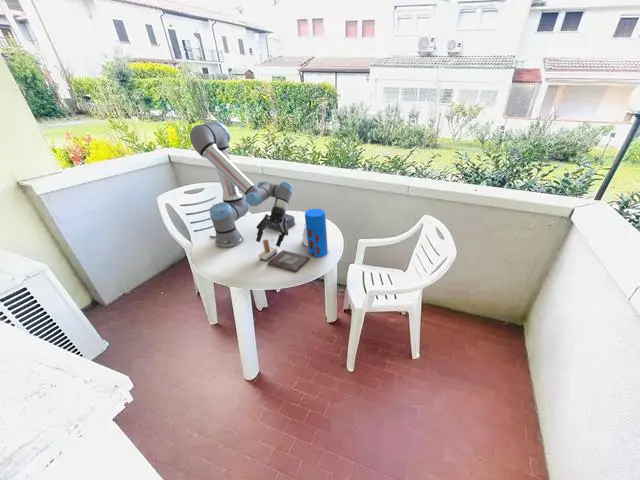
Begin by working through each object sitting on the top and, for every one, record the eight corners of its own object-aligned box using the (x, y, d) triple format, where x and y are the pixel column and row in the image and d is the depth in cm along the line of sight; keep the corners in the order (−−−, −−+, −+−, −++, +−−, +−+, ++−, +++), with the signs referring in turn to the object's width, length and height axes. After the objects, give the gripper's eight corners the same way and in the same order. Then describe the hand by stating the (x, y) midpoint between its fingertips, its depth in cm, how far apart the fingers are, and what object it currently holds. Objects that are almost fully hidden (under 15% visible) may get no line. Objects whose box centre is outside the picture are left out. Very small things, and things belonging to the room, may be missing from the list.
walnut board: (268, 264, 153) (267, 262, 153) (283, 252, 164) (282, 249, 163) (295, 272, 147) (295, 269, 147) (309, 259, 158) (309, 256, 157)
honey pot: (326, 245, 171) (324, 217, 161) (305, 248, 168) (301, 220, 157) (321, 235, 181) (319, 209, 171) (301, 238, 178) (298, 211, 167)
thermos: (318, 245, 170) (315, 206, 156) (331, 251, 164) (329, 211, 150) (305, 253, 163) (300, 213, 149) (318, 259, 157) (314, 218, 143)
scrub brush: (266, 261, 156) (263, 245, 150) (259, 259, 157) (255, 244, 152) (277, 253, 163) (274, 237, 158) (270, 251, 165) (267, 235, 159)
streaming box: (296, 224, 195) (295, 217, 192) (281, 232, 185) (279, 224, 182) (282, 218, 201) (281, 212, 199) (266, 226, 192) (265, 219, 189)
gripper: (301, 214, 159) (289, 250, 156) (265, 208, 167) (253, 241, 164) (294, 209, 152) (282, 246, 149) (257, 202, 160) (245, 237, 157)
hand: (267, 244), depth 157 cm, fingers open, 13 cm apart
